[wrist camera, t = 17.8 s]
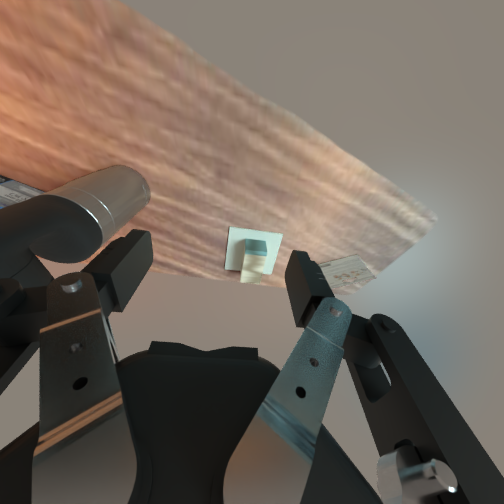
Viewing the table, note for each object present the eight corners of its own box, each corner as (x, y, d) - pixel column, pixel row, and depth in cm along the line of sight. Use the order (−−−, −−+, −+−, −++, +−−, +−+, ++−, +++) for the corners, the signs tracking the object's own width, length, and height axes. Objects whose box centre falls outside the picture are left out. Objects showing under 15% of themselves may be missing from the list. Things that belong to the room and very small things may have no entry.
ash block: (258, 271, 55) (265, 240, 50) (259, 284, 51) (267, 252, 45) (240, 269, 55) (245, 238, 49) (240, 282, 50) (245, 249, 45)
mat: (224, 268, 55) (224, 269, 54) (229, 226, 47) (229, 226, 47) (271, 273, 56) (271, 274, 56) (282, 233, 49) (282, 234, 49)
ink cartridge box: (357, 260, 55) (377, 285, 46) (317, 270, 56) (329, 296, 48) (357, 253, 53) (377, 278, 45) (315, 264, 55) (328, 289, 47)
